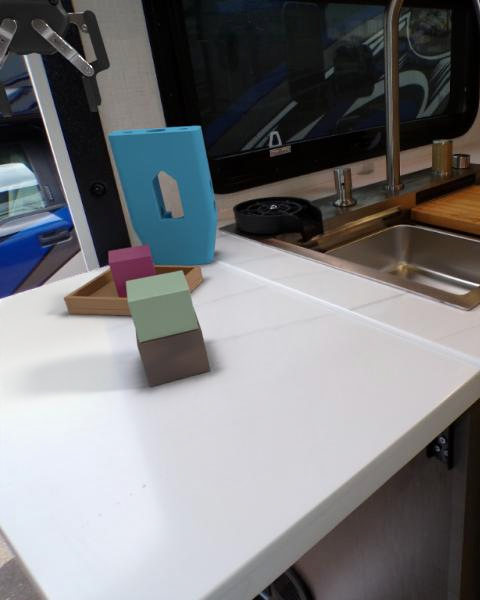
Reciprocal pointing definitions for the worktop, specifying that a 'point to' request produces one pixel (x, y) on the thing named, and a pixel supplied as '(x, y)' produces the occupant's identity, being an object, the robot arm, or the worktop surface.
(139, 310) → the sage block
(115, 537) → the worktop surface
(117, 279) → the mulberry block
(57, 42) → the robot arm
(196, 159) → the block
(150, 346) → the walnut block
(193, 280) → the tray
